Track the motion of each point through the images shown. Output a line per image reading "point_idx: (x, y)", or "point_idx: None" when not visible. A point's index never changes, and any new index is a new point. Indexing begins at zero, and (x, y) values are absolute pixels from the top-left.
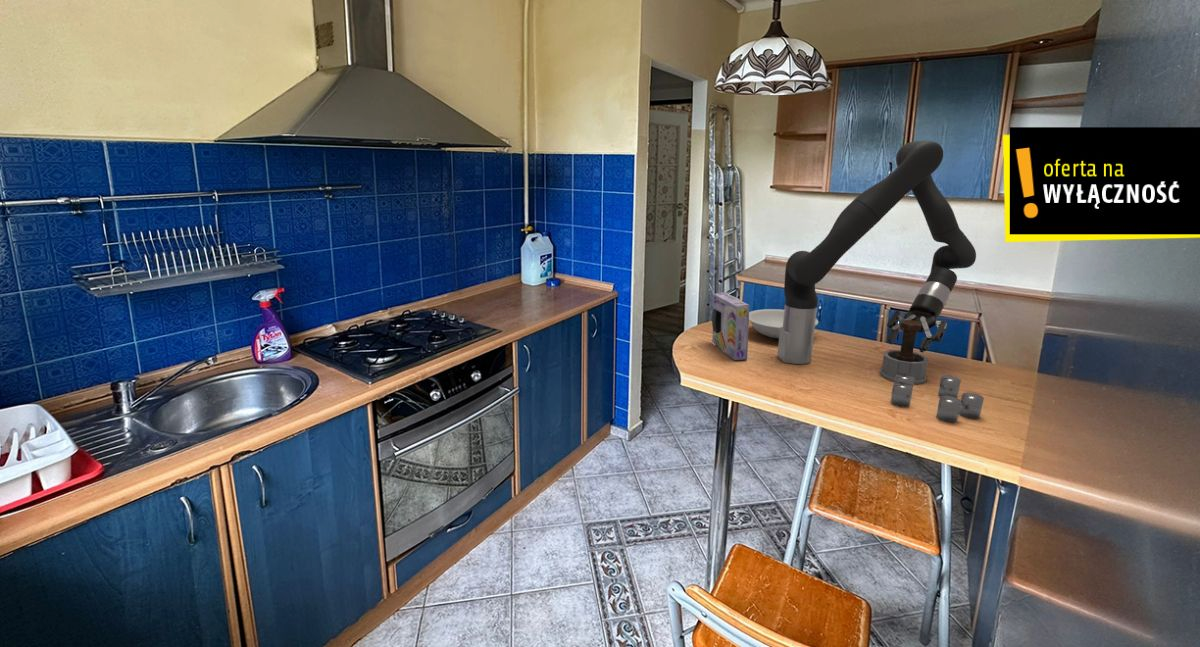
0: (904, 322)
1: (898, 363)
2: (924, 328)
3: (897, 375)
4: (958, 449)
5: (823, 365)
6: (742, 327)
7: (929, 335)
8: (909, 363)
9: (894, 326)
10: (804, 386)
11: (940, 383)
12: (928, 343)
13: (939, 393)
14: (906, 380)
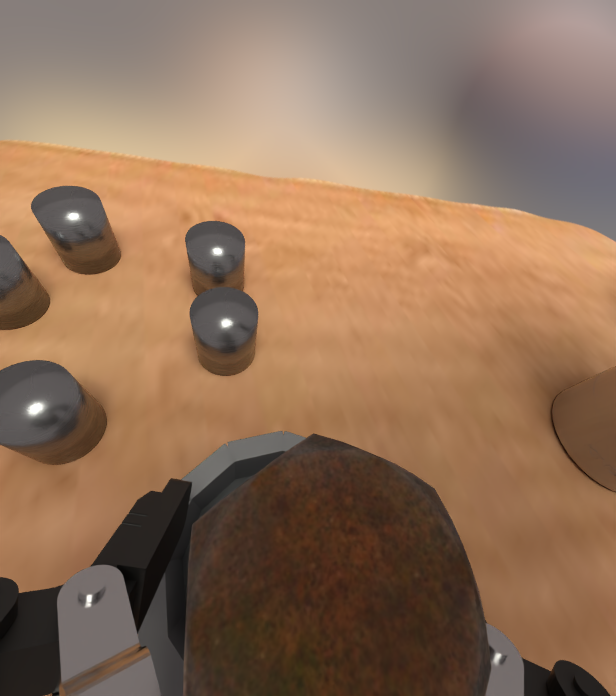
0: (408, 507)
1: (283, 434)
2: (142, 680)
3: (251, 307)
4: (82, 152)
5: (520, 447)
6: None
7: (84, 586)
8: (233, 441)
9: (514, 672)
10: (433, 267)
11: (85, 395)
12: (113, 537)
13: (99, 405)
14: (214, 290)
